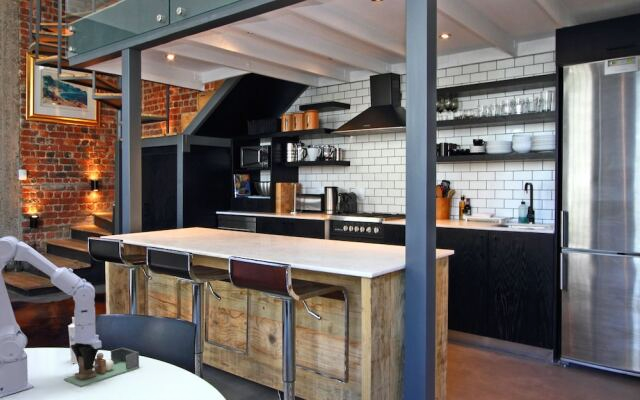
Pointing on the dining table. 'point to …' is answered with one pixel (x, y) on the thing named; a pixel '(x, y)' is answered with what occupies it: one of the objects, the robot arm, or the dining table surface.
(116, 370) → the pitch mat
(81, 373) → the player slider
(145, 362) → the dining table surface
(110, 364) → the ball
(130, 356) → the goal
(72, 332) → the perfume bottle
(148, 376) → the dining table surface
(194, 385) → the dining table surface
